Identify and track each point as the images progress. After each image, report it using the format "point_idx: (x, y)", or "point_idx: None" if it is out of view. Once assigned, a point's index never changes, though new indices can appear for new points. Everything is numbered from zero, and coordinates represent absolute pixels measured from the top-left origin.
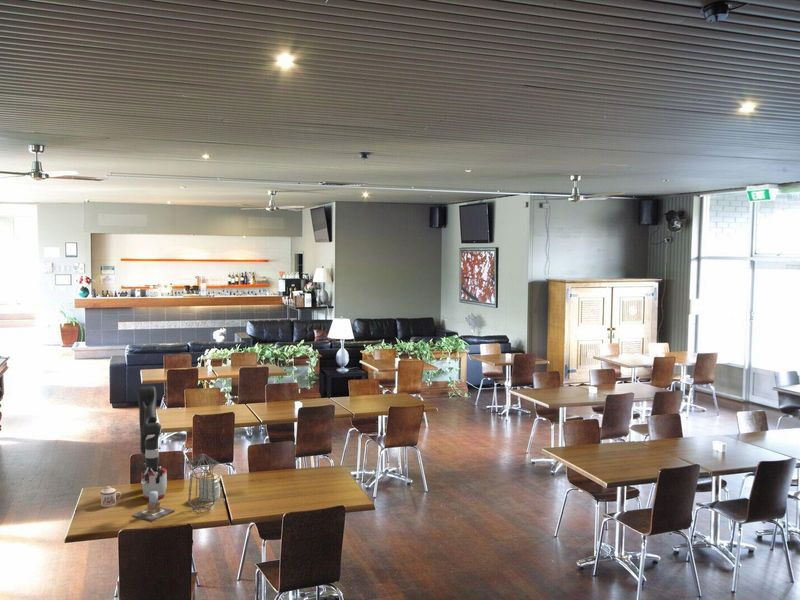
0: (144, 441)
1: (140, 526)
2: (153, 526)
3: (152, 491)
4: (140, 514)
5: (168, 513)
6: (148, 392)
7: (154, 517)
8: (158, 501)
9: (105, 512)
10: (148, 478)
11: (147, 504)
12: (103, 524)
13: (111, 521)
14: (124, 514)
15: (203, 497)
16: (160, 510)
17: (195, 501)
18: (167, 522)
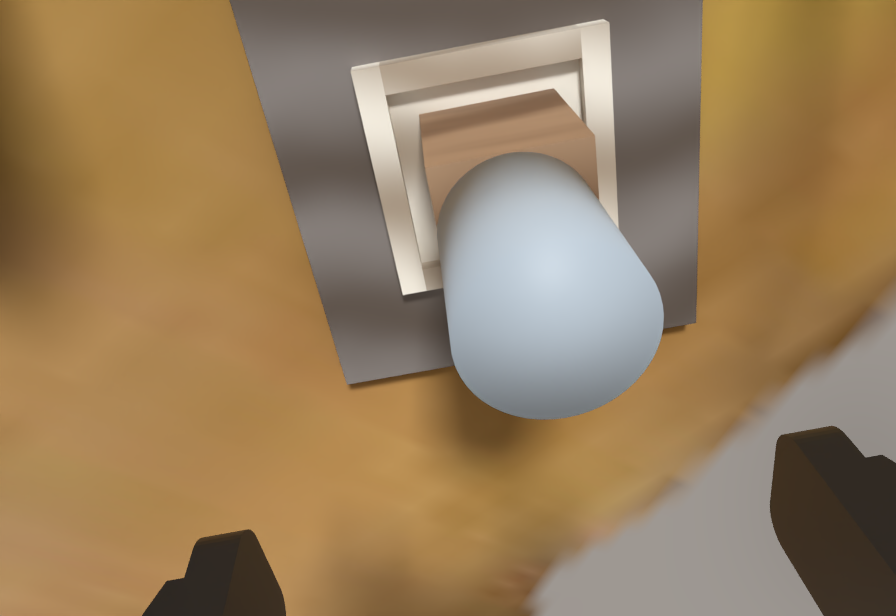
0: None
1: (679, 447)
2: (807, 370)
3: (467, 310)
4: (418, 321)
5: (698, 16)
6: None
7: (660, 262)
8: (557, 143)
9: (5, 492)
10: (236, 606)
11: None
12: (340, 611)
13: (322, 550)
14: (217, 397)
15: None
16: (535, 63)
17: None
18: (884, 205)
